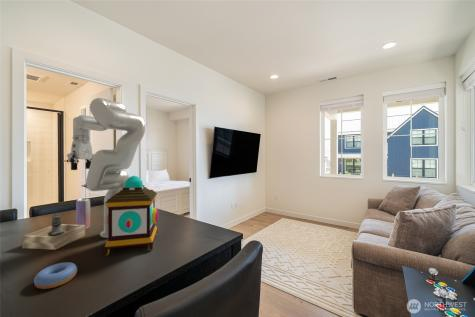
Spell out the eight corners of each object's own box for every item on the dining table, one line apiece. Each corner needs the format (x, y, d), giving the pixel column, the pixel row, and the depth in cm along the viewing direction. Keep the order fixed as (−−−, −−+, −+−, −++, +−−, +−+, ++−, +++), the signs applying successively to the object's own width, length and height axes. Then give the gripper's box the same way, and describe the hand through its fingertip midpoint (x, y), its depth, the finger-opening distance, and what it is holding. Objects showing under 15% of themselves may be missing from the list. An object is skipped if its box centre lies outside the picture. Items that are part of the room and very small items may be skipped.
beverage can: (78, 230, 103) (78, 201, 103) (74, 227, 106) (74, 199, 106) (92, 227, 108) (91, 199, 107) (88, 224, 111) (88, 197, 111)
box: (84, 235, 97) (84, 225, 97) (55, 249, 82) (55, 237, 82) (56, 234, 98) (56, 224, 98) (22, 248, 83) (22, 236, 83)
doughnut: (28, 295, 55) (31, 278, 55) (36, 279, 63) (38, 264, 64) (75, 286, 61) (77, 270, 61) (77, 272, 69) (78, 258, 69)
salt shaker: (54, 243, 87) (54, 215, 86) (43, 241, 88) (43, 214, 88) (68, 237, 92) (68, 211, 92) (58, 236, 94) (58, 210, 93)
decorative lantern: (98, 258, 75) (98, 178, 75) (115, 237, 94) (115, 173, 94) (155, 252, 81) (155, 177, 80) (160, 233, 100) (160, 173, 99)
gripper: (74, 138, 106) (74, 170, 106) (99, 140, 123) (99, 168, 124) (61, 138, 107) (61, 170, 107) (87, 140, 124) (87, 168, 124)
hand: (81, 169), depth 115 cm, fingers open, 9 cm apart
